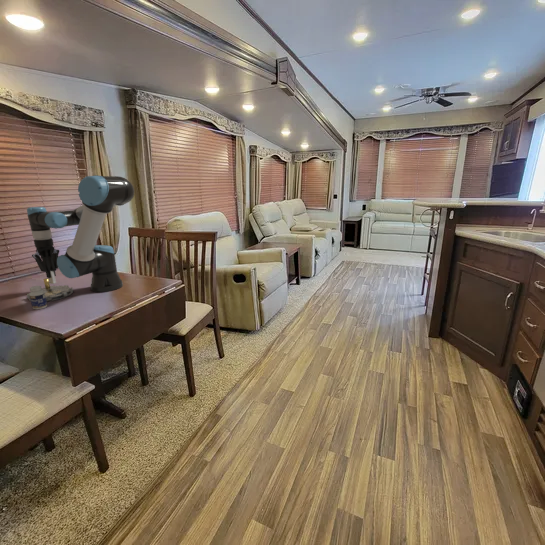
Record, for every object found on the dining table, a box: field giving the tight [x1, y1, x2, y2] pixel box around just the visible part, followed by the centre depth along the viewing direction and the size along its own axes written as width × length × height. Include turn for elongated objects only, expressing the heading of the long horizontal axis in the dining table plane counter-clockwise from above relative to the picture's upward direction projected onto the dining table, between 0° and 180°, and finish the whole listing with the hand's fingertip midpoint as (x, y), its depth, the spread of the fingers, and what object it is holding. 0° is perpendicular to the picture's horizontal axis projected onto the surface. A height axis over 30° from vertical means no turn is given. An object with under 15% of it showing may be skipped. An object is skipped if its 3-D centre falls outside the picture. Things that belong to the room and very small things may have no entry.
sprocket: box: [26, 277, 74, 301], centre depth 146 cm, size 18×18×7 cm
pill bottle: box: [28, 285, 48, 310], centre depth 132 cm, size 5×5×10 cm
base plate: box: [28, 291, 74, 303], centre depth 147 cm, size 18×18×1 cm
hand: (52, 283), depth 153 cm, fingers closed
